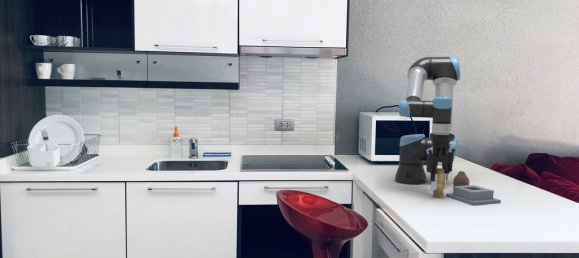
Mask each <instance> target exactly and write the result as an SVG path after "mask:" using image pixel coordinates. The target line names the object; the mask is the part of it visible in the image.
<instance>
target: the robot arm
mask: <svg viewBox="0 0 579 258" xmlns="http://www.w3.org/2000/svg"><path fill="white" fill-rule="evenodd" d="M406 76H407V80H408V82H407V87H406V94H405V99H402V100H400V101H399V103H398V104H399V105H398V114H399V116H400V117H404V118H427V119H430V118H431V119H432V122H431V132H430V133H429V137H426V136H425V134H423V133H419V134H417V133H416V134H415V133H414V134H408V135H403V136H401V137H400V140H399V146H398V147H399V157H398V158H399V159H398V167H397V170H396V173H395V175H394V181H395V182H397V183H400V184H407V185H424V184H427V176H426V175H427V174H426V173H429V174H430V179H429V180H430V181H431V185H430V189H432V190H434V189H435V190H437V175H438V174H436V170H437V168H438V165H439V163H441V168H442V169H444V189H443V190H446V189H447V181H448V180H449V179H448V175H449V174H450V173H452V172H453V165H454V162H455V158H456V151H457V147H458V146H457V145H458V141H459V140H458V138H456V137H455V136H456V135H455V134H454V133H453V131H452V130H453V104H454V103H453V102H454V99H453V98H454V87H455V85H457V84H458V81H460V80H461V69H460V61H459V58H457V56H426V57H422V58H419V59H417V60H416V61H415V62H413V63H412V65H410V67H409V69H408V71H407V75H406ZM427 80H429V81H432V82H431V83H432V84H433V85H434V86H435V87H434V88H435V89H434V97H433V100H423V94H424V88H425V87H424V86H425V81H427ZM425 162H426V171H425V168H424V163H425Z"/></svg>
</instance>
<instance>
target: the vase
mask: <svg viewBox="0 0 579 258" xmlns="http://www.w3.org/2000/svg"><path fill="white" fill-rule="evenodd" d="M467 185H470V179H469V177H468V176H467V174H466V172H465V171H461V170H460V171H458V172H457V174H456V175H455V176H454V178H453V182H452V187H453V186H467Z"/></svg>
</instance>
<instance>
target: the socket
mask: <svg viewBox="0 0 579 258" xmlns="http://www.w3.org/2000/svg"><path fill="white" fill-rule="evenodd" d="M494 192H495V191H494V190H493V189H490V188H487V187H484V186H480V185H476V184H471V185H470V184H469V185H467V186H453V185H452V192H448V193H445V197H447V198H450V199H453V200H456V201H459V202H462V203H464V204H468V205H470V206H482V205H494V204H501V203H502V200H501V199H499V198H495V197H494Z"/></svg>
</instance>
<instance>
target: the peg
mask: <svg viewBox="0 0 579 258" xmlns="http://www.w3.org/2000/svg"><path fill="white" fill-rule="evenodd" d="M436 174H438V175H437V190H435V189H432V191H433V193H432V195H433V196H432V197H433V198H435V199H443V198H444V190H445V189H444V169H442V167H437V170H436Z"/></svg>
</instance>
